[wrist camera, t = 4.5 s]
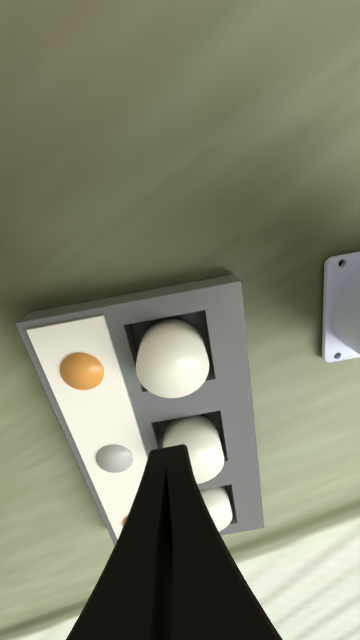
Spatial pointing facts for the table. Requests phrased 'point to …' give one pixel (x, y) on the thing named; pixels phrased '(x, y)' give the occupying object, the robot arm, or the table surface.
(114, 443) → the button board
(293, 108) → the table surface
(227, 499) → the button
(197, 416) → the button
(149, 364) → the button
